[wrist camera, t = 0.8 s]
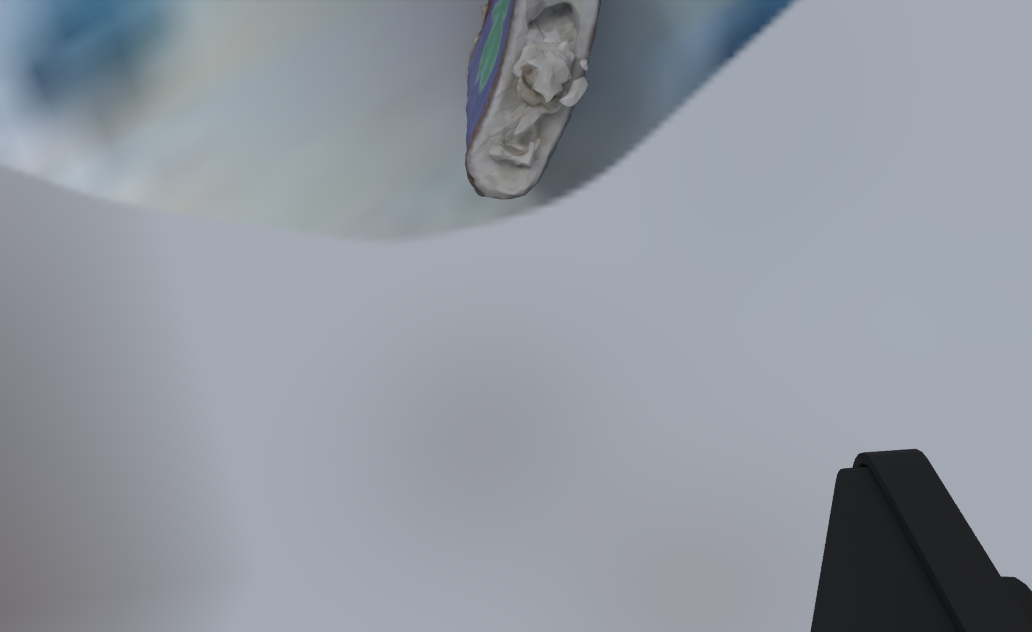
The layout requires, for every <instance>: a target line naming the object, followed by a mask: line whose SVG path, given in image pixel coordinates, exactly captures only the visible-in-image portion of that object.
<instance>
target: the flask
mask: <svg viewBox="0 0 1032 632" xmlns="http://www.w3.org/2000/svg"><path fill="white" fill-rule="evenodd" d="M600 4H601V0H489V2H488V5H485V6H483V7H481V9H482V10H483V26H482V30H481V32H480V33H479V35H478V36H477V38H476V39H474V40H473V41H474V42H475V43H474V47H473V49H472V53H471V55H470V56H469V65H468V68H467V71H466V76H467V83H468V93H467V96H468V100H467V106H466V112H467V135H466V144H467V151H466V158H465V166H466V171H467V176H468V179H469V182H470V183H471V185H472V186H473V187H474V188H475V191H476V193H477V194H478V195H480V196H484V197H491V198H497V199H512V198H517V197H520V196H523V195H526V194H527V193H528V192H529V191H530V190H531V188H532V187H534V186H535V185H536V184H537V183H538V181H539V179H540V178H541V176H542V174H543V172H544V171H545V169H546V167H547V164H548V162H549V159H550V157H551V156H552V154H553V153H554V151H555V148H556V146H557V143H558V141H559V139H560V137H561V135H562V133H563V131H564V129H565V127H566V125H567V123H568V121H569V119H570V117H571V113H572V110H573V108H574V106H575V104H576V103H577V102H578V101H579V100H580V98H581V97H582V95H583V94H584V92H585V91H586V89H587V86H588V83H587V80H586V79H585V78H584V73H585V71H587V69H588V59H589V55H590V52H591V48H592V45H593V41H594V38H595V34H596V26H597V18H598V14H599V11H600Z"/></svg>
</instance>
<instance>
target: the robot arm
mask: <svg viewBox="0 0 1032 632" xmlns="http://www.w3.org/2000/svg"><path fill="white" fill-rule="evenodd" d="M811 632H1032V591H1031V590H1030V589H1029V588H1028V586H1027V585H1026V584H1024V583H1023V582H1021V581H1020V580H1018V579H1017V578H1015V577H1001V576H1000V575H999V573H998V571H997V570H996V568H995V567H994V565H993V563H992V562H991V560H990V558H989V557H988V555H987V554H986V552H985V550H984V549H983V547H982V545H981V544H980V542H979V541H978V539H977V537H976V536H975V534H974V533H973V531H972V529H971V528H970V526H969V525H968V523H967V521H966V520H965V518H964V517H963V515H962V513H961V512H960V510H959V508H958V507H957V505H956V504H955V502H954V500H953V499H952V497H951V496H950V494H949V493H948V491H947V489H946V488H945V486H944V484H943V483H942V481H941V480H940V478H939V476H938V475H937V473H936V472H935V470H934V468H933V467H932V465H931V464H930V462H929V460H928V459H927V458H926V456H925V455H924V454H923V453H922V452H921V451H919V450H917V449H909V450H908V449H907V450H893V451H878V452H864V453H860V454H859V455H858V456H857V457H856V459H855V461H854V464H853V468H845V469H840V471H839V472H838V474H837V478H836V483H835V489H834V496H833V501H832V507H831V514H830V519H829V525H828V532H827V537H826V544H825V549H824V556H823V562H822V567H821V573H820V579H819V585H818V591H817V597H816V603H815V609H814V615H813V621H812V627H811Z"/></svg>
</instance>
